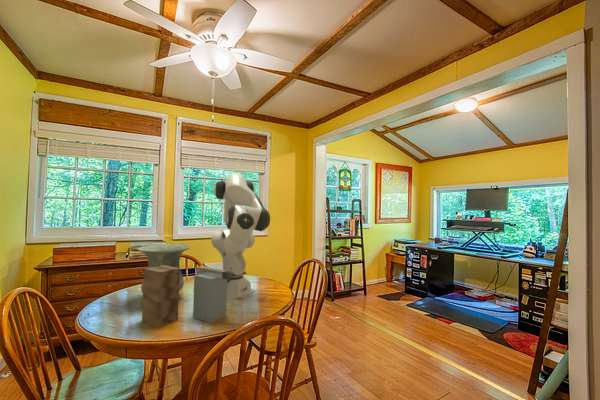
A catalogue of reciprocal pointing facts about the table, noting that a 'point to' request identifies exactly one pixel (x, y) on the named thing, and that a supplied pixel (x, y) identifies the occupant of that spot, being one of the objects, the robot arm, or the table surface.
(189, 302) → the table surface
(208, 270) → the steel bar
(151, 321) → the walnut pillar
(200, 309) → the slate block
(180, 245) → the vessel
